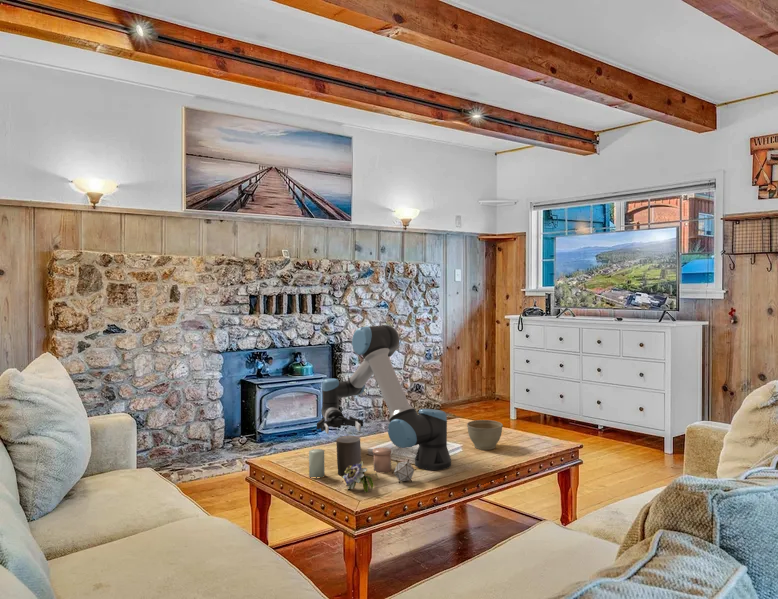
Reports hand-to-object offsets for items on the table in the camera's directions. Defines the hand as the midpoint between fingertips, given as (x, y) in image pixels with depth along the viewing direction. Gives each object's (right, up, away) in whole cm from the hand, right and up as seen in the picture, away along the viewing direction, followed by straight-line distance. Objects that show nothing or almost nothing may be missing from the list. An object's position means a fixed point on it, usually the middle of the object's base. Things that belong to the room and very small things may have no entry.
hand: (343, 429), depth 251 cm
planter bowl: (+63, -14, +26) cm, 70 cm away
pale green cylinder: (-10, -16, -13) cm, 23 cm away
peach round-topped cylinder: (+16, -15, -6) cm, 23 cm away
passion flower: (+8, -16, -27) cm, 33 cm away
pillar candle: (+3, -15, -9) cm, 18 cm away
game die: (+25, -16, -20) cm, 36 cm away
